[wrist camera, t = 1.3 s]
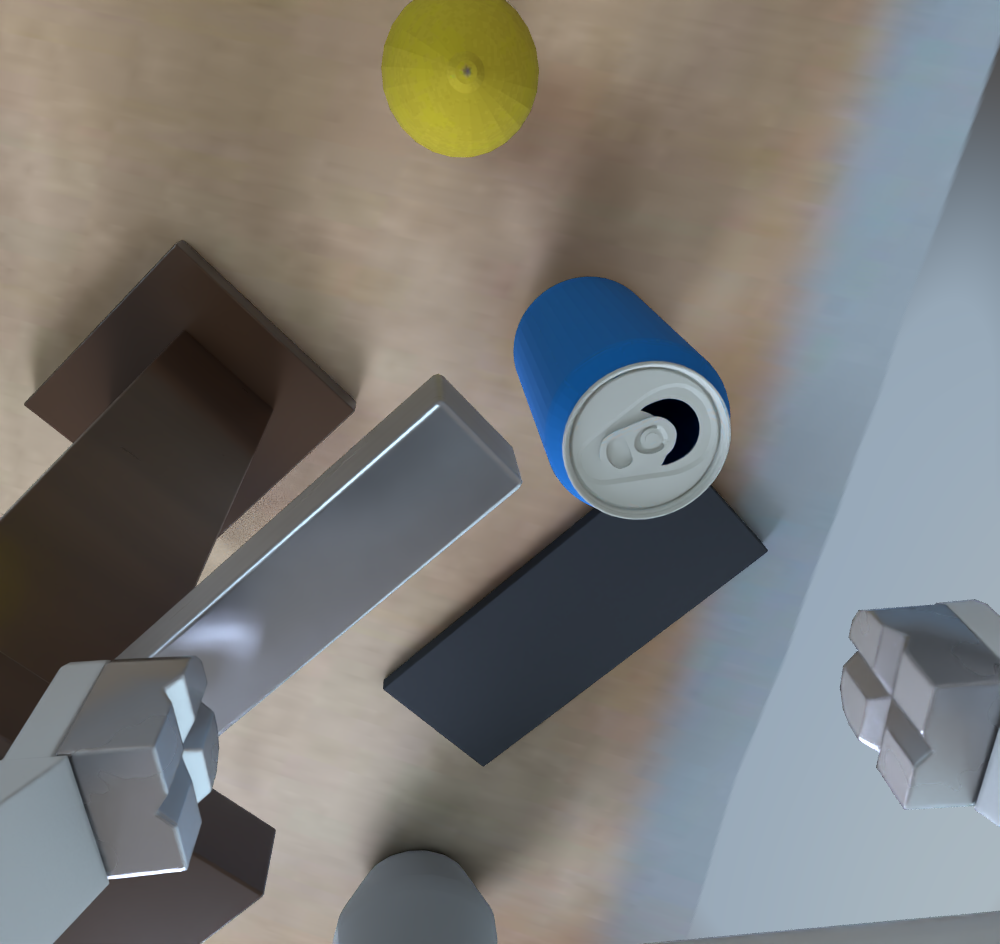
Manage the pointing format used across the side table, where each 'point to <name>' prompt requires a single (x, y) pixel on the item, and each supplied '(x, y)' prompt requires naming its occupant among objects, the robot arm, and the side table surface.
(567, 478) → the beverage can
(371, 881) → the cup
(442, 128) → the lemon
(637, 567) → the dark grey flat slab
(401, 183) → the side table surface
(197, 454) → the stand
